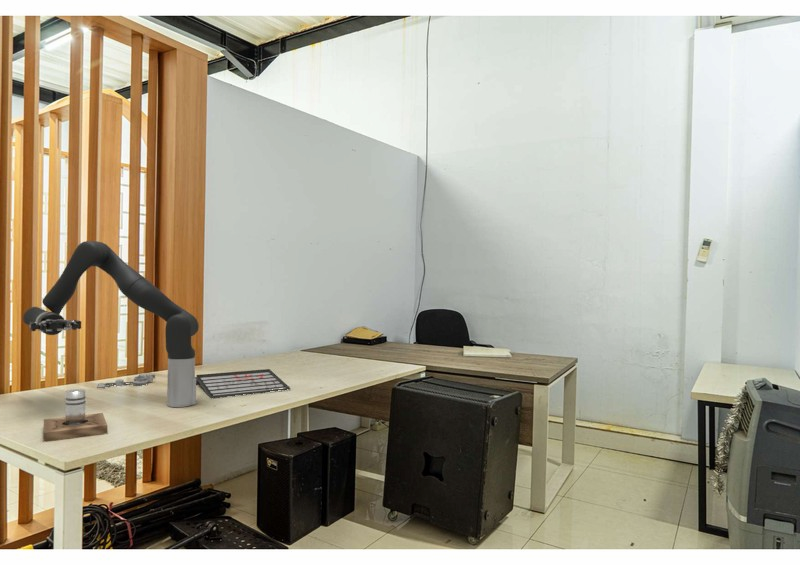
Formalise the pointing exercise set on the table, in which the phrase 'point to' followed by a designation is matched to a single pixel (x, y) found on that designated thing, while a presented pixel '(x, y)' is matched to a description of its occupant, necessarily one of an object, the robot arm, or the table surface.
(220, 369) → the table surface
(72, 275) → the robot arm
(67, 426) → the ring block
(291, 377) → the table surface
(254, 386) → the shutter
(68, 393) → the salt shaker
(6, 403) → the table surface
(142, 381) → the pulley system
